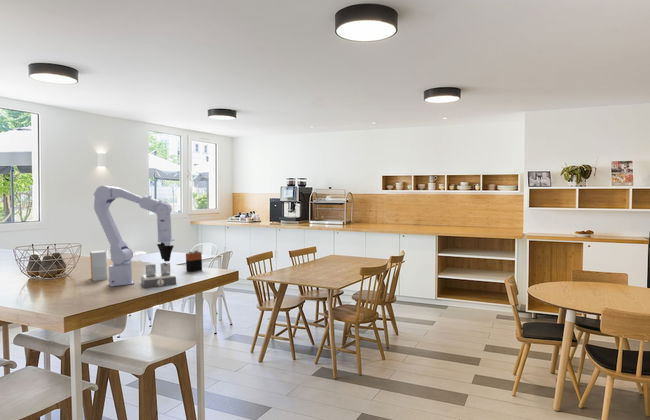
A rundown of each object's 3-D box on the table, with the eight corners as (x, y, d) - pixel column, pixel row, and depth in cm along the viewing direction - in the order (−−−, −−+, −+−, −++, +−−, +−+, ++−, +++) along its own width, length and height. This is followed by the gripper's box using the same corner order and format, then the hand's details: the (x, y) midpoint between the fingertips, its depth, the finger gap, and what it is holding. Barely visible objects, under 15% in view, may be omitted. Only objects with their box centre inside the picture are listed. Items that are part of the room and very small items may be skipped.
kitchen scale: (144, 288, 188) (144, 279, 188) (141, 283, 199) (140, 275, 198) (176, 284, 194) (176, 276, 194) (171, 279, 205) (171, 271, 205)
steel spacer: (161, 275, 195) (161, 264, 195) (160, 274, 199) (159, 263, 199) (171, 274, 197) (170, 263, 197) (169, 273, 201) (169, 262, 201)
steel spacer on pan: (146, 277, 192) (146, 265, 192) (145, 276, 196) (145, 264, 196) (156, 276, 194) (156, 264, 194) (155, 275, 198) (154, 263, 198)
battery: (202, 270, 228) (201, 250, 228) (191, 272, 223) (190, 252, 222) (197, 269, 231) (196, 250, 230) (186, 271, 225) (185, 251, 225)
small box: (91, 278, 213) (89, 251, 213) (105, 276, 217) (104, 249, 216) (92, 281, 206) (91, 253, 206) (107, 279, 210) (106, 251, 209)
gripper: (176, 230, 194) (177, 261, 194) (171, 228, 207) (172, 257, 207) (159, 231, 190) (160, 263, 191) (155, 229, 203) (156, 258, 204)
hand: (165, 260), depth 199 cm, fingers open, 7 cm apart
